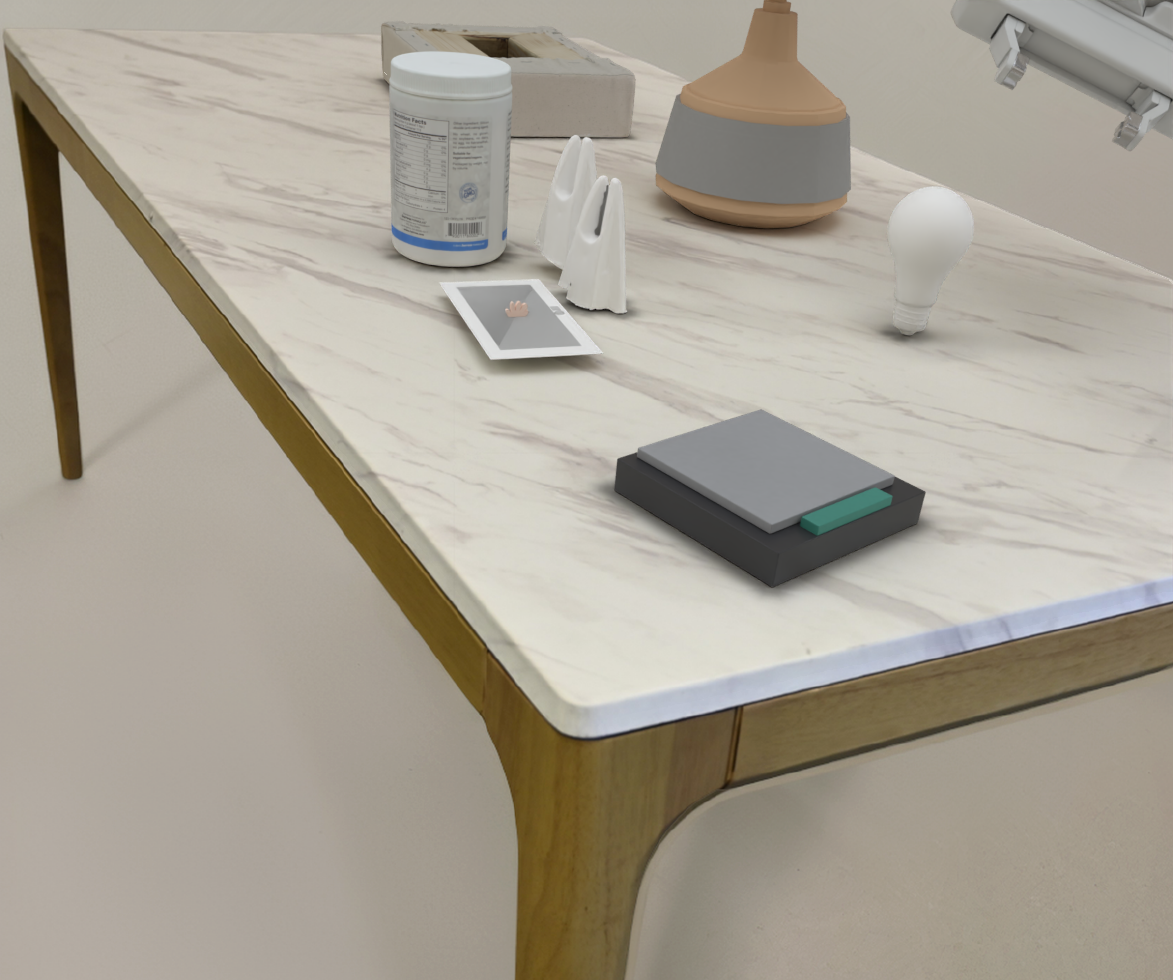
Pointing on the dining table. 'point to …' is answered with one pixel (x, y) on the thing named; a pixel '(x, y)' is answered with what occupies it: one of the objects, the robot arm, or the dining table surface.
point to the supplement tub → (449, 157)
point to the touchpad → (518, 319)
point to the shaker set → (585, 230)
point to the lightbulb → (925, 250)
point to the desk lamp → (758, 135)
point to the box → (533, 75)
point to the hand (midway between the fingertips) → (1068, 109)
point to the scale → (767, 494)
